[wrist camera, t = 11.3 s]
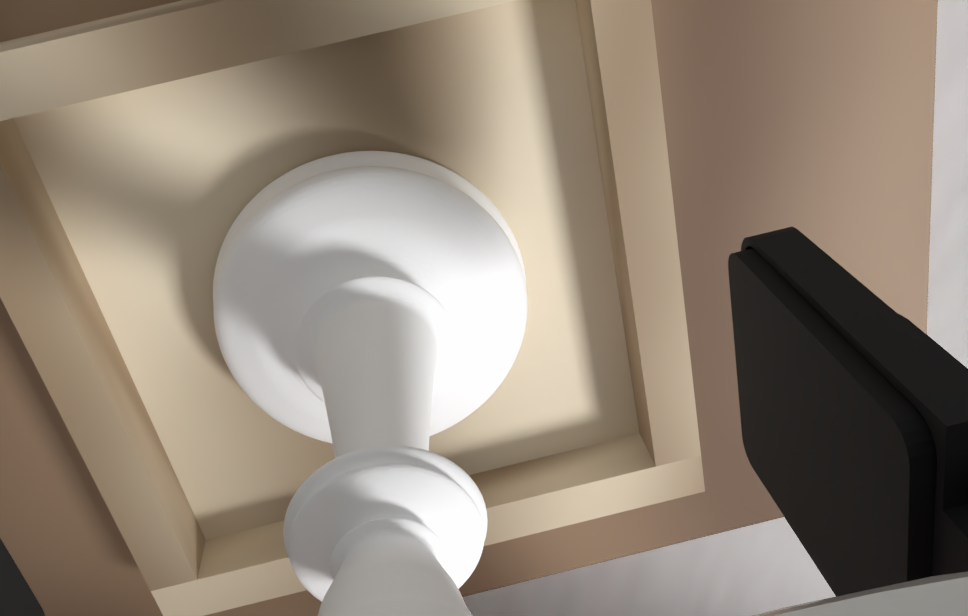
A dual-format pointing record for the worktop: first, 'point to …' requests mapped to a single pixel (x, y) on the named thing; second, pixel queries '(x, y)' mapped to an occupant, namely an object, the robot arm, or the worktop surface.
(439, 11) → the board
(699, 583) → the worktop surface
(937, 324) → the worktop surface
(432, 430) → the chess piece
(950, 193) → the worktop surface
